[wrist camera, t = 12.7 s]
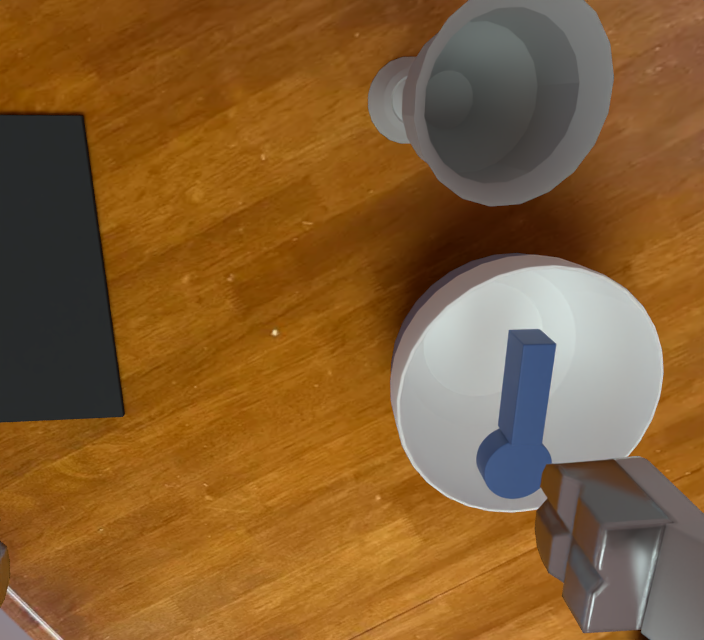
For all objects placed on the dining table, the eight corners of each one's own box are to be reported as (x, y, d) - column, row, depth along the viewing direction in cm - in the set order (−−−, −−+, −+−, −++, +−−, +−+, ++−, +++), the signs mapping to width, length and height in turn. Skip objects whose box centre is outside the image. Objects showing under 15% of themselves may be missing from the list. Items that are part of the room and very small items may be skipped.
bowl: (325, 336, 42) (337, 401, 33) (500, 178, 39) (565, 201, 30) (462, 469, 47) (505, 556, 38) (625, 337, 44) (712, 396, 35)
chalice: (427, 179, 38) (540, 237, 22) (333, 131, 37) (377, 155, 20) (483, 70, 37) (654, 41, 20) (386, 14, 35) (483, -68, 18)
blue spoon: (488, 329, 32) (502, 345, 30) (558, 327, 33) (577, 343, 30) (472, 484, 36) (484, 508, 33) (536, 481, 36) (551, 504, 34)
